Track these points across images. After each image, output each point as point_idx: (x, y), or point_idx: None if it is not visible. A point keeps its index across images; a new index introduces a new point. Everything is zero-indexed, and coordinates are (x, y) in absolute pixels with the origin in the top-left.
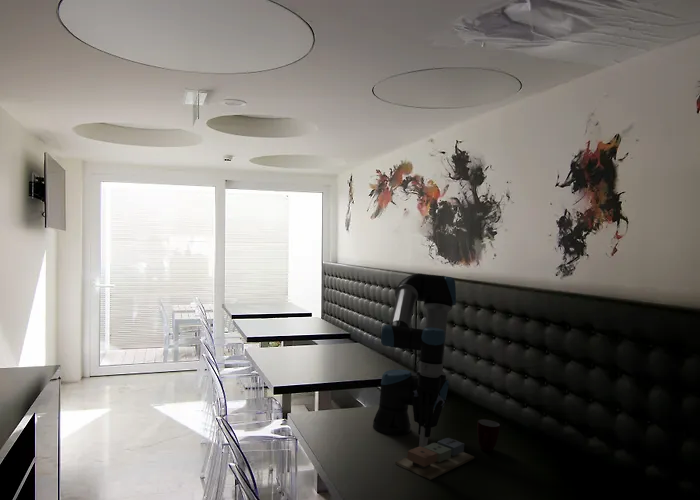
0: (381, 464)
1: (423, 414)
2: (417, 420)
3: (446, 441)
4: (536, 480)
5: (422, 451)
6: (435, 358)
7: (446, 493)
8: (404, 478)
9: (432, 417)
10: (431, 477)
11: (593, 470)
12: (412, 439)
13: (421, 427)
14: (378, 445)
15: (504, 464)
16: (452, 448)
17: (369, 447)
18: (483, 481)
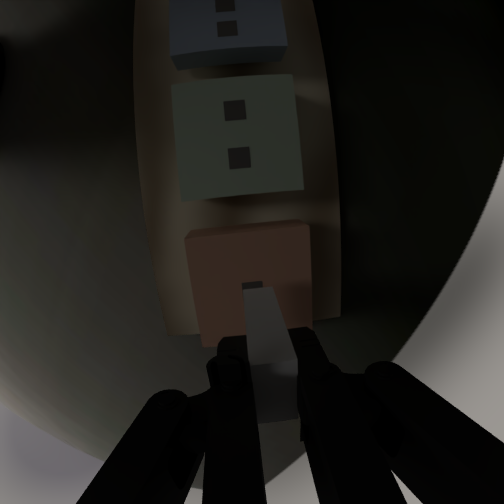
0: (152, 370)
1: (265, 498)
2: (202, 447)
3: (202, 14)
4: (479, 22)
5: (248, 287)
6: None
7: (411, 329)
8: None
9: (410, 482)
10: (339, 309)
11: None
12: (36, 77)
13: (264, 416)
14: (20, 257)
15: None
16: (275, 48)
17: (27, 301)
18: (443, 144)
